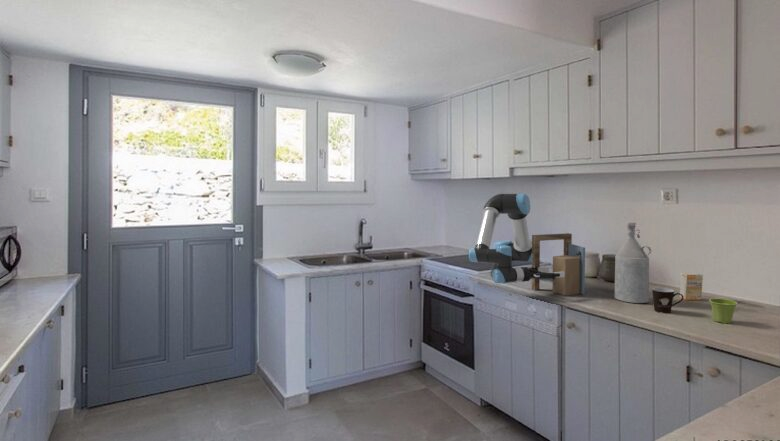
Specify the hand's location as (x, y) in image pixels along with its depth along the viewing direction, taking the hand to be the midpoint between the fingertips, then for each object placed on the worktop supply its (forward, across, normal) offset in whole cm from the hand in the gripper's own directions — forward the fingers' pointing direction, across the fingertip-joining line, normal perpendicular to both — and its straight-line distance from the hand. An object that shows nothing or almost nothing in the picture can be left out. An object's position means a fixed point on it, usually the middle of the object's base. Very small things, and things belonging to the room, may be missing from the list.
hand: (556, 271), depth 231 cm
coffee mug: (+27, +44, -12) cm, 53 cm away
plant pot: (+36, +62, -12) cm, 73 cm away
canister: (+28, +23, -12) cm, 38 cm away
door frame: (+6, -12, -12) cm, 18 cm away
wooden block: (+6, 0, -12) cm, 14 cm away
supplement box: (+57, +30, -12) cm, 65 cm away
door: (+13, -2, -12) cm, 18 cm away
